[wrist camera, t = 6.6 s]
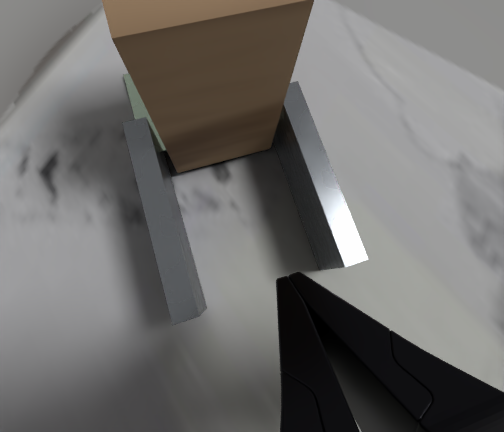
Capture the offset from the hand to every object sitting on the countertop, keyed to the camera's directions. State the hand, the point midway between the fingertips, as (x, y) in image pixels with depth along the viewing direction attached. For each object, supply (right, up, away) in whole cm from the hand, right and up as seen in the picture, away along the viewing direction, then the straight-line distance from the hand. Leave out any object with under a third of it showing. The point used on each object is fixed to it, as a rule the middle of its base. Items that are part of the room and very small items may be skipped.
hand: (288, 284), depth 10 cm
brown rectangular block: (-4, +8, +9) cm, 13 cm away
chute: (-3, +5, +9) cm, 11 cm away
